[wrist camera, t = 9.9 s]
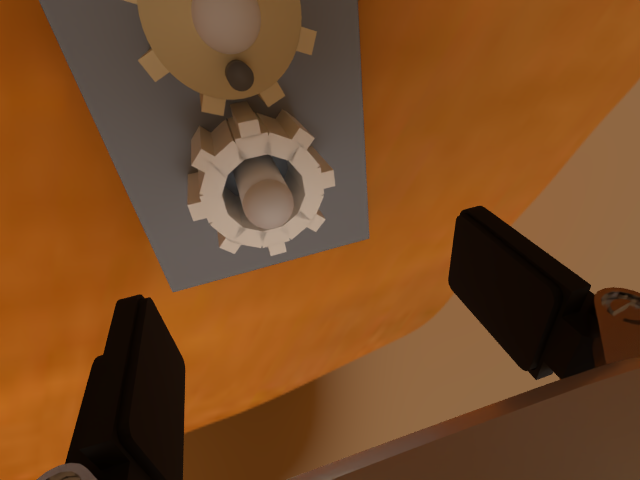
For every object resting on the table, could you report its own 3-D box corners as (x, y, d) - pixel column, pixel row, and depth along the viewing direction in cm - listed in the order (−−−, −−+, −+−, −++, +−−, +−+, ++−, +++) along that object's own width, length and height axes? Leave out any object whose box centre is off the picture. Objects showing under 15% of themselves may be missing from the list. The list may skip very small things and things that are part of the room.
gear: (167, 116, 19) (162, 138, 15) (304, 89, 20) (326, 105, 17) (209, 235, 23) (212, 272, 19) (320, 206, 24) (340, 236, 21)
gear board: (-37, -193, 13) (-246, -383, 7) (334, -207, 15) (432, -353, 9) (173, 278, 25) (168, 366, 19) (361, 228, 28) (411, 291, 22)
